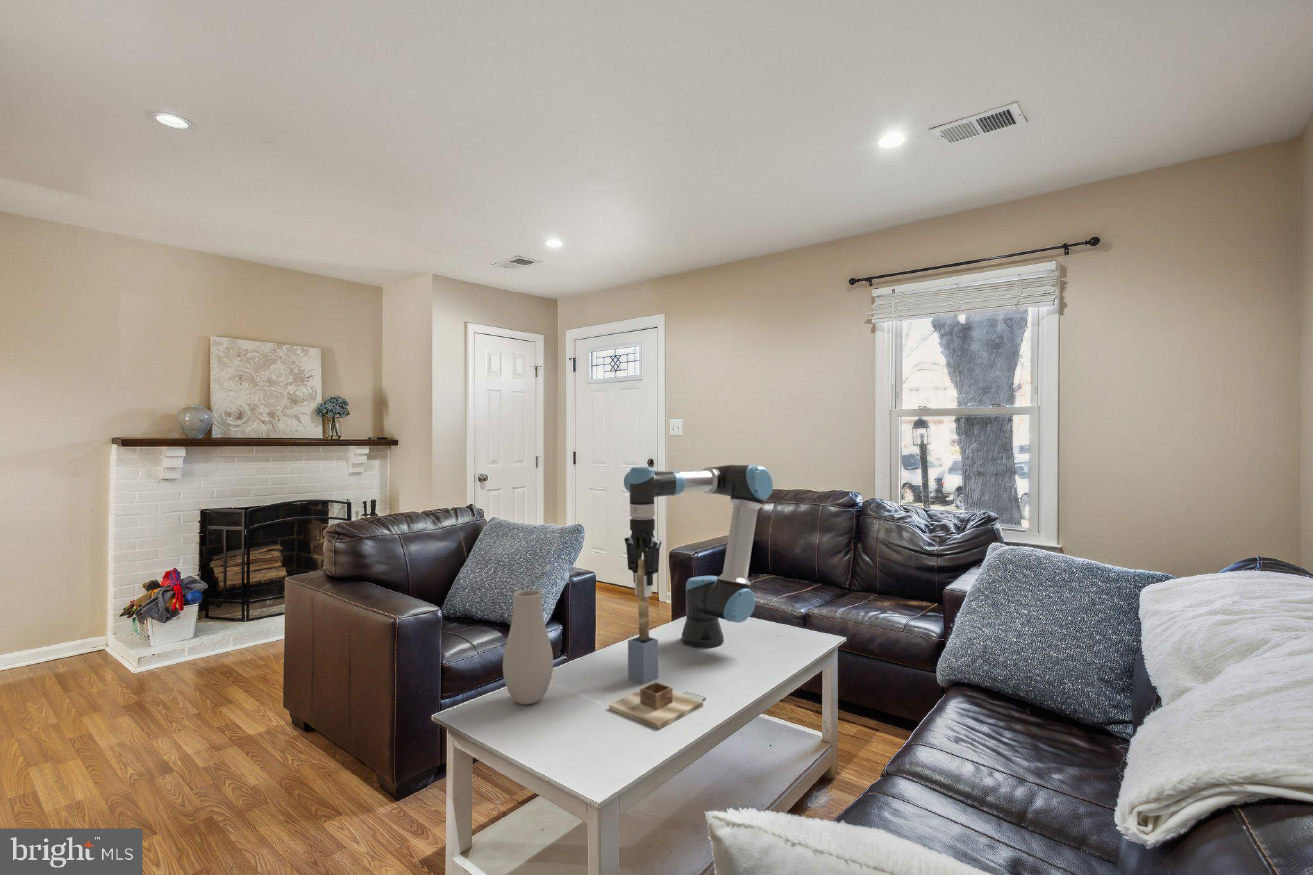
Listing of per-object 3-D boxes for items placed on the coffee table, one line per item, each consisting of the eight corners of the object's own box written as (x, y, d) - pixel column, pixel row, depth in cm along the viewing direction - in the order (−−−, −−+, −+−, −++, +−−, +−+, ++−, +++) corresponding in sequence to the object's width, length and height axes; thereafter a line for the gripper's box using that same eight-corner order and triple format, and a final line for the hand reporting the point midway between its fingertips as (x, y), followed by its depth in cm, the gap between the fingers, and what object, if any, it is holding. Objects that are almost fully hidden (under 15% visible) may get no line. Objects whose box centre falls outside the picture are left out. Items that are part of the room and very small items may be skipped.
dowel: (643, 636, 187) (642, 558, 187) (651, 638, 185) (649, 559, 185) (637, 639, 185) (635, 559, 185) (644, 641, 183) (643, 561, 183)
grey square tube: (642, 673, 189) (642, 635, 189) (658, 679, 185) (657, 639, 185) (628, 679, 185) (628, 640, 185) (643, 685, 180) (643, 644, 180)
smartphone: (707, 697, 171) (677, 717, 158) (707, 700, 171) (677, 720, 158) (685, 690, 175) (654, 709, 163) (685, 693, 175) (654, 712, 163)
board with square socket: (653, 688, 178) (653, 670, 178) (703, 705, 166) (702, 686, 166) (609, 708, 164) (609, 689, 165) (659, 729, 152) (659, 708, 153)
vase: (548, 711, 163) (548, 598, 164) (497, 711, 163) (496, 599, 164) (556, 690, 177) (556, 586, 177) (509, 690, 177) (508, 587, 177)
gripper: (614, 517, 188) (616, 593, 188) (653, 521, 177) (654, 602, 177) (631, 514, 193) (632, 588, 193) (670, 518, 183) (671, 596, 183)
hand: (643, 594), depth 185 cm, fingers closed on dowel, 3 cm apart
